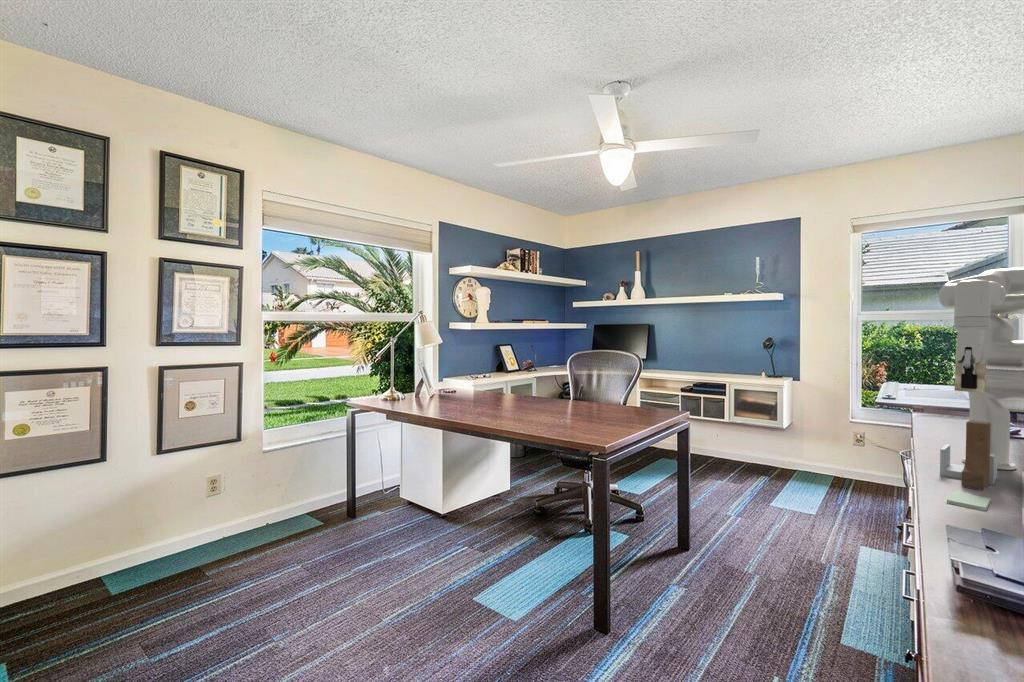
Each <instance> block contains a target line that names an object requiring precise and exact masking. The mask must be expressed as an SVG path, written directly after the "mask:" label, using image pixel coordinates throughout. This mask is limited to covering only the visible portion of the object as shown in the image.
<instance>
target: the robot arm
mask: <svg viewBox="0 0 1024 682" xmlns="http://www.w3.org/2000/svg"><path fill="white" fill-rule="evenodd" d="M938 293H939V294H938V301H939V303H940V305H941V306H942V307H943V308H945V309H953V311H954V312H953V329H954V330H958V331H957V336H956V345H955V363H962V374H961V388H967V389H976V388H977V375H976V364H979V363H981V364H986V392H984V393H980V392H967V393H968V401H969V403H968V404H969V419H968V421H970V420H973V421H982V422H989V423H990V424H991V431H990V454H991V452H992V451H998V455H997V470H1002V471H1003V470H1005V471H1007V470H1008V471H1010V470H1011V471H1013V470H1016V469H1017V465H1016V464H1015V463H1014V462H1010V444H1011V443H1010V439H1011V438H1010V437H1011V413H1010V411H1009V409H1008V408H1007V406H1006V405H1005V404H1004V403H1002V402H1001V401H1000V400H1012V401H1013V400H1014V401H1015V400H1016V401H1024V340H1014V339H1015V338H1014V337H1015V333H1016V332H1015V328H1014V327H1013V326H1012V325H1011V323H1009V322H1008V321H1006V320H1005V319H1004V318H1002V317H1000V316H999V315H1017V314H1018V315H1020V314H1021V315H1023V314H1024V266H1021V267H1008V268H995V269H988V270H985V271H983V272H981V273H979V274H978V275H972V276H969V277H964V278H959V279H954V280H950V281H948V282H946V283H944V284H943V285H942V286H941V288H940V290H939V292H938ZM965 457H966V456H963V457H962V458H961V460H962V462H963V463H964V464H965Z"/></svg>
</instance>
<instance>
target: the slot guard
mask: <svg viewBox="0 0 1024 682" xmlns="http://www.w3.org/2000/svg"><path fill="white" fill-rule="evenodd" d="M997 455H998V451H992V452H991V454H990V476H989V485H994V483H995V482H996V481H997V478H998V469H997ZM939 458H940V459H939V476H942V477H948V478H953V479H954V478H955V479H960V480H961V477H962V471H963V469H964V465H961V464H954V463H951V444H949V443H948V444H947V443H946V444H944V445H943V446H942V447H941V448H940V453H939Z"/></svg>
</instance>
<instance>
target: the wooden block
mask: <svg viewBox="0 0 1024 682" xmlns="http://www.w3.org/2000/svg"><path fill="white" fill-rule="evenodd" d="M969 420H970V419H969ZM969 420H968V421H966V423H965V425H966V427H965V428H966V429H965V456H964V457H965V463H964V465H963V466H964V469H963V471H962V477H961V479H960V480H961V483H960V486H961V487H963V488H966V489H973V490H977V491H983V490H985V489H986V488H987V487H988V486H989V485H990V484H989V476H990V431H991V424H990V423H989V422H982V421H973V420H970V421H969Z"/></svg>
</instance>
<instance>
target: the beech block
mask: <svg viewBox="0 0 1024 682" xmlns="http://www.w3.org/2000/svg"><path fill="white" fill-rule="evenodd" d="M962 363H963V362H962ZM962 363H957V362H955V363H954V367H955V368H954V391H955V392H966V393H968V392H980V393H984V392H986V369H987V368H986V364H981V363H979V364H976V375H977V388H976V389H967V388H961V374H962Z"/></svg>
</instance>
